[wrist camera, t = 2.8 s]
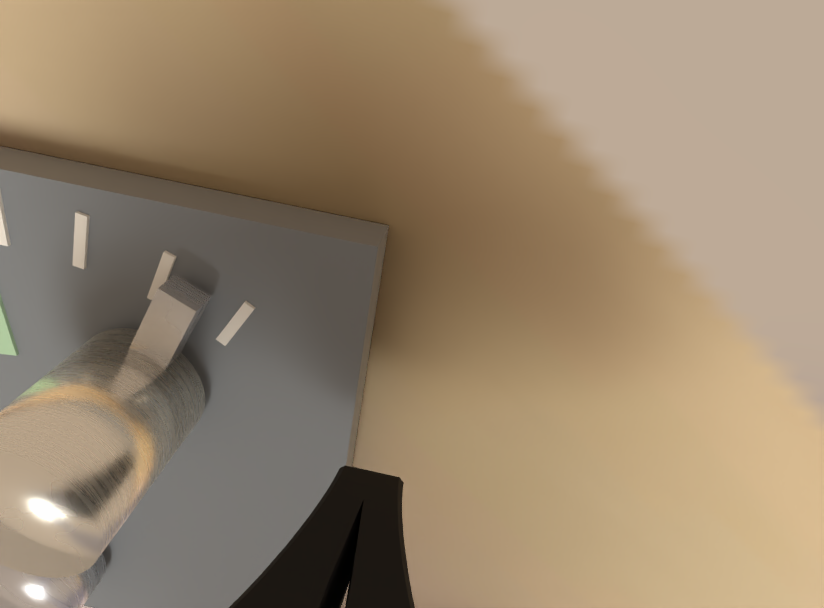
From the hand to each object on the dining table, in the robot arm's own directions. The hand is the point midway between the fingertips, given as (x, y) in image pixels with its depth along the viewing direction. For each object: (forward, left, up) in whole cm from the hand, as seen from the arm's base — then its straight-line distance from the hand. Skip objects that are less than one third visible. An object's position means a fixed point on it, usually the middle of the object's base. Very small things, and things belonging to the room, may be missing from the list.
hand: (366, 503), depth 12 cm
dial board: (-4, +10, -5) cm, 12 cm away
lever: (-4, +8, -3) cm, 9 cm away
